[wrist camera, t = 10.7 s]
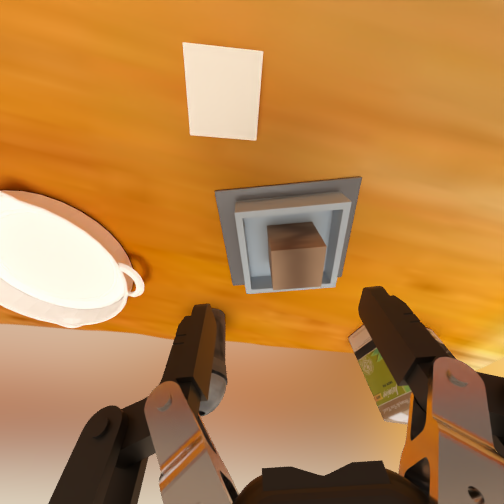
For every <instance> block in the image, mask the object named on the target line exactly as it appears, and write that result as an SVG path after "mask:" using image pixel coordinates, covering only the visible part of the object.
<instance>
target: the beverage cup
mask: <svg viewBox="0 0 504 504" xmlns="http://www.w3.org/2000/svg"><path fill="white" fill-rule="evenodd" d="M211 309H212V312H213V314H214V317H215V320H216V325H217V333H216V341H215V349H214V357H213V364H212V372H211V380H210V387H209V395H208V401H200V408H199V415H200V416H204V415H207V414H209V413H210V412H212V411H213V410H214V409H215V408H216V407H217V406H218V405H219V403H220V402H221V400H222V398H223V396H224V393H225V390H226V385H227V376H226V365H225V314H224V313H223V312H222V311H221V310H218V309H213V308H211Z"/></svg>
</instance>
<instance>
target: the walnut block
mask: <svg viewBox="0 0 504 504" xmlns="http://www.w3.org/2000/svg"><path fill="white" fill-rule="evenodd" d="M267 236H268V254H269V265H270V272H271V279H272V286H273V290H283V289H296V288H308V287H321V284H322V277H323V269H324V262H325V255H326V248H327V246H326V244H325V243H324V241H323V239H322V238H321V236H320V234H319V232H318V231H317V229H316V227H315V226H314V224H313V222H303V223H292V224H281V225H270V226H267Z"/></svg>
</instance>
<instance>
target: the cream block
mask: <svg viewBox="0 0 504 504" xmlns="http://www.w3.org/2000/svg"><path fill="white" fill-rule="evenodd" d="M183 54H184V66H185V78H186V90H187V102H188V114H189V126H190V135H195V136H207V137H219V138H231V139H243V140H255V141H256V139H257V126H258V113H259V100H260V87H261V74H262V61H263V51H257V50H248V49H239V48H230V47H221V46H212V45H203V44H194V43H185V42H183Z"/></svg>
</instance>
